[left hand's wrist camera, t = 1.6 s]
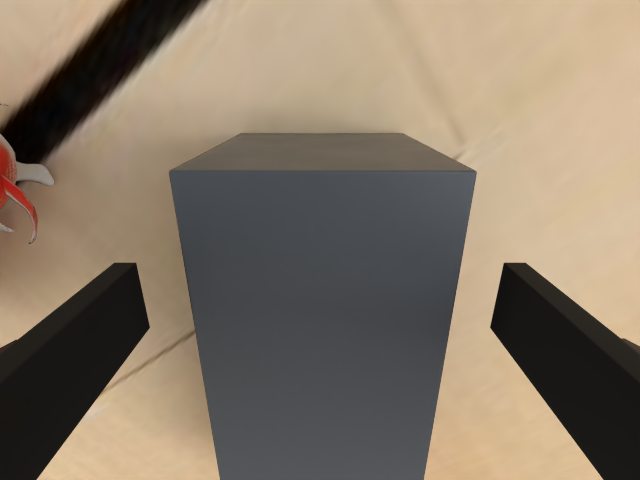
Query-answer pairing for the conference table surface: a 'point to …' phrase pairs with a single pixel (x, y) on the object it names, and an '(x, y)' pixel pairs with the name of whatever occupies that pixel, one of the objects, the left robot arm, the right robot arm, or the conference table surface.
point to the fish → (5, 172)
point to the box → (322, 299)
